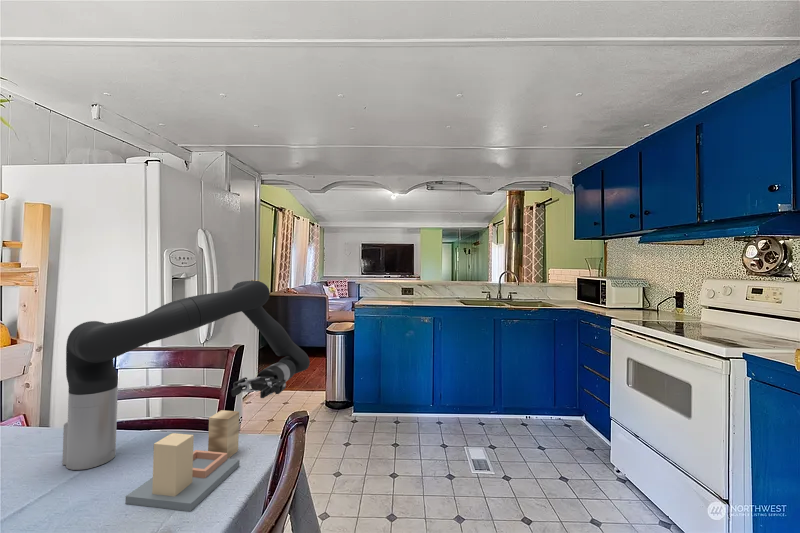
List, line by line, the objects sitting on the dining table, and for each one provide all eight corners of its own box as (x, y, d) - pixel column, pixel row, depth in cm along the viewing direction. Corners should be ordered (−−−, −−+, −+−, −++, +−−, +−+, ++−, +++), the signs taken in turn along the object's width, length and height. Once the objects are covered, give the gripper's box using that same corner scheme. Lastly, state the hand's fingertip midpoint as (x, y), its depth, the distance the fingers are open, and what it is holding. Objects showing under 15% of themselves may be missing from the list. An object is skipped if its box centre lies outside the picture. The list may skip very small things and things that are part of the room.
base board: (125, 503, 74) (127, 445, 74) (185, 460, 91) (186, 413, 91) (190, 511, 72) (192, 451, 72) (239, 465, 89) (240, 417, 89)
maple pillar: (207, 458, 92) (209, 417, 92) (220, 448, 97) (221, 410, 97) (226, 460, 91) (227, 419, 92) (238, 450, 96) (239, 411, 97)
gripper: (253, 364, 122) (223, 379, 106) (295, 366, 120) (271, 382, 104) (253, 387, 122) (223, 405, 106) (294, 389, 120) (271, 409, 104)
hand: (247, 393), depth 105 cm, fingers open, 8 cm apart
